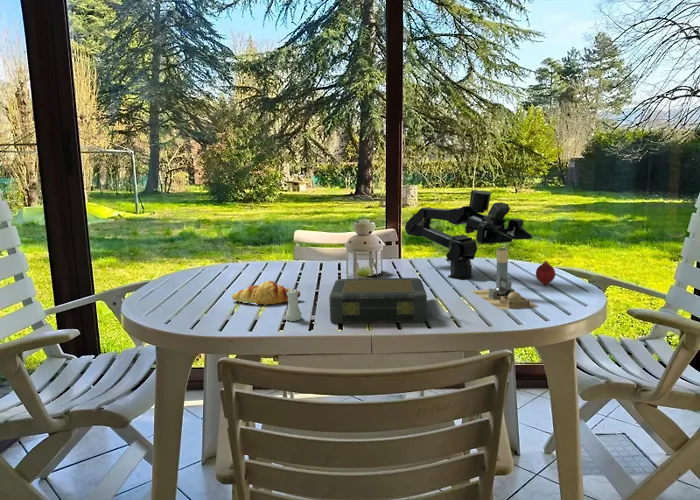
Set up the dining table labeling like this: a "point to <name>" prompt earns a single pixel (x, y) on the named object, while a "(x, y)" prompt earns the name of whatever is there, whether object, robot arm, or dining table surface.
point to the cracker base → (503, 299)
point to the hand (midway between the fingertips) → (521, 238)
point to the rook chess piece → (293, 306)
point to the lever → (502, 273)
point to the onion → (545, 273)
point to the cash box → (378, 301)
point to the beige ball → (514, 296)
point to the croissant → (263, 294)
